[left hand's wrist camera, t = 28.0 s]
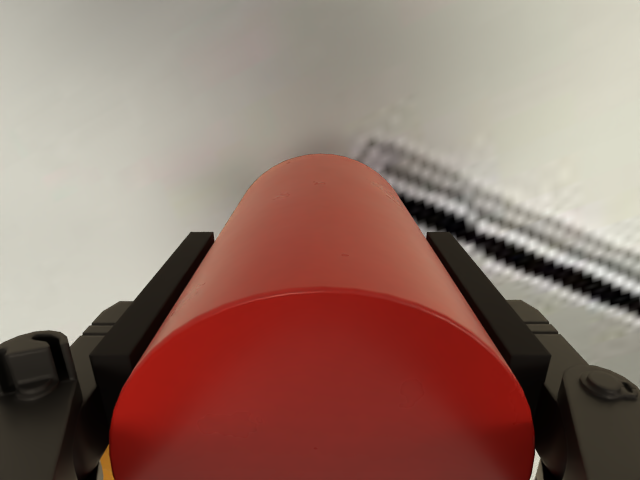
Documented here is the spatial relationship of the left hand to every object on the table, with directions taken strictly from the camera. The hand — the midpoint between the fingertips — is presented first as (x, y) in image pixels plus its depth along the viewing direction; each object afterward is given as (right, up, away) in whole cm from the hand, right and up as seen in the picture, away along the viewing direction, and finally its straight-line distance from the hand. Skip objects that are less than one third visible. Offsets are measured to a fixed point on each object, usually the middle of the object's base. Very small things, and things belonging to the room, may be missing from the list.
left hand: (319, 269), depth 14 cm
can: (0, +1, +3) cm, 3 cm away
